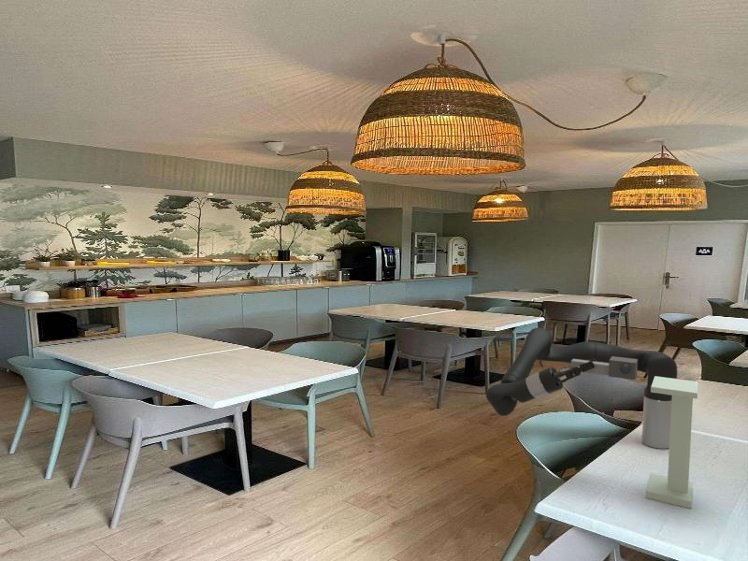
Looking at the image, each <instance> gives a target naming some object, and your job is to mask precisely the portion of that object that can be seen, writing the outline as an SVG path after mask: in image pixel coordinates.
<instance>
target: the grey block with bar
mask: <svg viewBox="0 0 748 561" xmlns="http://www.w3.org/2000/svg"><path fill="white" fill-rule="evenodd" d="M587 362H589V361H587V360H579V359H573V360H572V361H571V363H570V365H571V367H576V366H579V365H582V364H584V363H587ZM592 362H593V363H594V365H595V367H594V368H593V369H590V370H588V371H585V372H584V373H589V374H596V375H600V376H601V375H603V376H608V377H609V378H618V379H624V380H632V381H636V378H637V376H638V371H637V365H638V359H632V358H623V357H614V356H612V357H611V358H610V360H609V363H603V362H595V361H592ZM580 367H581V366H580Z"/></svg>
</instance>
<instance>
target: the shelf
mask: <svg viewBox="0 0 748 561" xmlns="http://www.w3.org/2000/svg"><path fill="white" fill-rule="evenodd" d="M698 386H699V381H695V380H687V379H679V378H677V379H673V378H665V377H657V376H655V377H654V380H653V383H652V386H651V392H653V393H660V394H667V395H672V405H671V425H670V444H669V448H668V450H669V451H668V467H667V469H668V470H667V475H663V474H660V473H654V472H650V473H649V477H648V480H647V485H646V489H645V498H646V499H650V500H653V501H657V502H663V503H666V504H670V505H675V506H678V507H679V506H680V507H683V508H686V509H692V503H693V502H692V497H693V481H692V480H690V479H689V476H690V462H691V460H690V459H691V440H692V422H693V419H692V418H693V404H694V403H693V402H694V399H695V400H696V399H698V394H699V393H698V392H699V391H698V389H699V388H698Z"/></svg>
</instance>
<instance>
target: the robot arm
mask: <svg viewBox="0 0 748 561" xmlns="http://www.w3.org/2000/svg"><path fill="white" fill-rule="evenodd" d="M612 356H614V357H623V358H632V359H638V365H637V372H641V373H645V374H647V382H646V383H647V384H646V387H644V390H643V407H642V408H643V409H642V410H643V411H642V428H641V429H642V431H641V433H642V434H641V443H642V444H643V443H644V444H643V445H645V446H647V447H650V448H653V449H659V450H662V449H663V450H664V449H665V450H666V449H669V444H670V425H671V405H672V395H667V394H660V393H653V392H651V386H652V383H653V380H654V377H655V376H657V377H665V378H673V379H678V366H677V362H676V361H675V360H674V358H673V357H671V356H669V355H668V354H666V353H664V352H662V351H657V350H641V349H640V350H639V349H630V348H625V347H622V346H618V345H617V346H616V345H614V344H608V343H603V342H597V341H589V340H588V341H582V342H577V343H573V344H570V345H554V344H553V335H552V333H551V332H550V331H549V330H547V328H543V327H534V328H532V329H531V330H529V332H528V333H527V335H526V338H525V342H524V344H523V346H522V348H521V350H520V352H519V353H518V355H517V356H516V358H515V359H514V361H513V363H512V364H511V365H510V366H509V368H508V369H507V371H506V373H504V375H503V377H502V379H501V380H500V381H501V382H500V383H498V384H493V385H492V386H490V387H489V388H488V389H487V390H486V393H485V397H486V400H487V401H488V403H490V405H491V406H492V408H493V410H495V412H496V413H497V414H498V415H499V416H502V417H506V416H508V415H510V414H512V413H513V412H514V411H515V409H516V407H517V404H518V402H519V403H527V402H529V401H530V402H531V401H532V400H535V399H537V398H541V397H546V396H547V395H549V394H552V393H555V392H558V391H561V390H562V389H563V388H564V383H566V382H568V381H569V382H570V381H571V380H572V379H575V378H577V377H579V376H581V375H582V374H584V373H586V372H585V371H588V370H590V369H593V368H594V367H595V365H594V363H593V362H592V361H595V362H603V363H609V360H610V358H611V357H612ZM573 359H579V360H587V361H589V362H587V363H584V364H582V365H579V366H576V367H571V361H572V360H573ZM536 361H544V362H554V363H555V362H556V363H559V362H560V363H568V364H570V365H568V366H564V367H562V368H560V369H559V370H557V369H556V368H555V367H553V366H550V367H547V368H545V369H542V370H540V371H538V372H535V373H532V375H530V373H531V372H532V370H533V367H534V365H535V363H536ZM580 366H581V367H580Z"/></svg>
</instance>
